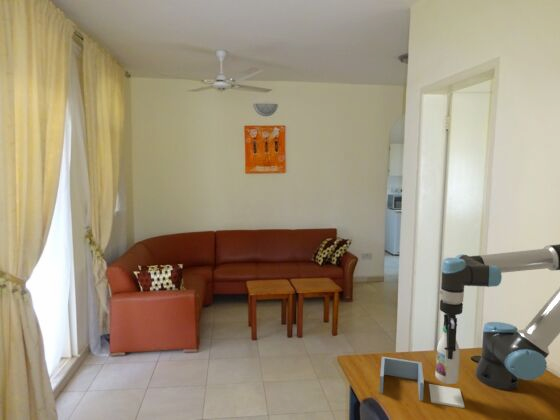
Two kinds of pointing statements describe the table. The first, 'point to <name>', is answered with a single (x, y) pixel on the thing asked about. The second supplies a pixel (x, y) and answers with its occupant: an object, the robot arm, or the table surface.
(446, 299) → the robot arm
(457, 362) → the milk bottle
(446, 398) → the tile
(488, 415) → the table surface
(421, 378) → the grey u-shaped piece
